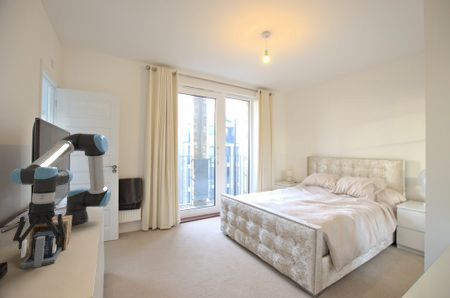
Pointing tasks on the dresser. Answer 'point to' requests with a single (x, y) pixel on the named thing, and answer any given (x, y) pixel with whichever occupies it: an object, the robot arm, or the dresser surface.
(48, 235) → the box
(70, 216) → the cubby
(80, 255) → the dresser surface
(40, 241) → the tray
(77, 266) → the dresser surface
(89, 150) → the robot arm
